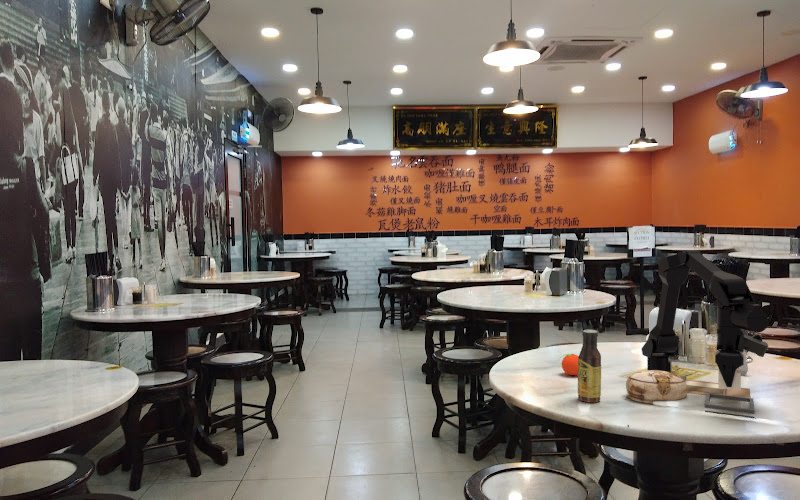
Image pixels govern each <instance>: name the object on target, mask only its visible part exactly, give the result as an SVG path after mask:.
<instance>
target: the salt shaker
mask: <svg viewBox="0 0 800 500" xmlns="http://www.w3.org/2000/svg"><path fill="white" fill-rule="evenodd" d="M741 353H742V352H741ZM742 354H743V356H744V365H742V366H740V367H739V368H741V377H746V375H747V373H748V371H749V366H748V360H747V355H746V350H745V349H744V352H743V353H742Z"/></svg>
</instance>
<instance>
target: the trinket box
mask: <svg viewBox="0 0 800 500" xmlns="http://www.w3.org/2000/svg"><path fill="white" fill-rule="evenodd" d="M680 376H681V375H678V374H677V373H673V372H671V373H670V372H666V371H659V370H641V371H637V372H635V373H633V374H632V375H630V376H628V377H627V379H626V381H625V389H626V392H627V393H626V394H628V398H629V399H631V400H633V401H636V402H640V403H645V404H653V403H654V401H676V400H682V399H684V398H686V397H687V394H688V393H687V385H686V383H685V381H684V379H683V378H682V377H680Z"/></svg>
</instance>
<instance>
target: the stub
mask: <svg viewBox="0 0 800 500" xmlns="http://www.w3.org/2000/svg"><path fill="white" fill-rule="evenodd" d="M741 377H742V376H741V368H737V369H736V372H735V375H734V379H733V383H732V387H727V386H726V384H725V381H724V379H723V377H722V375H721V372H720V370H719V369H718V381H717V383H718V388H724V389H733V390H741V388H742V387H741V385H742V384H741V383H742V379H741Z"/></svg>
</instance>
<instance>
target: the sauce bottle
mask: <svg viewBox="0 0 800 500" xmlns="http://www.w3.org/2000/svg"><path fill="white" fill-rule="evenodd" d="M598 336H599V332H598V330H594V329H584V330H582V347H581V348H580V352H579V355H578V356H579V357H578V375H577V398H578V400H579V401H581V402H583V401H584V403H590V404H591V403H592V404H593V403H599V402H600V401H601V395H602V355H601V353H600V351H599V350H598Z"/></svg>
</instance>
